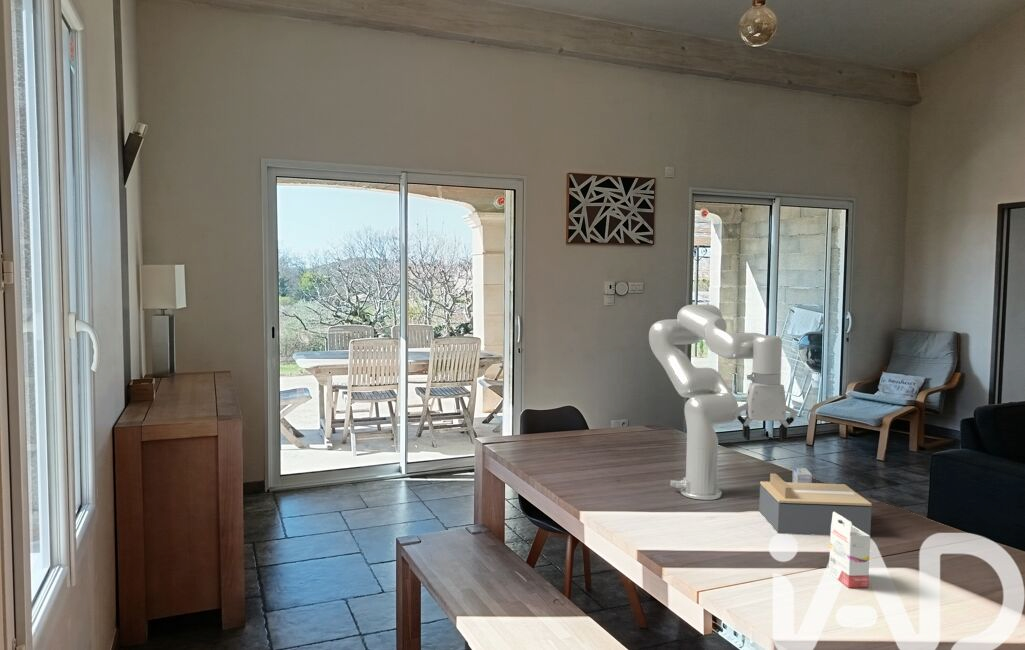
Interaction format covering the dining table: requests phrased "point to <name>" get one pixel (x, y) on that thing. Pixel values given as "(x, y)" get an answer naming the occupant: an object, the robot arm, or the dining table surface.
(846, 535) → the ink cartridge box
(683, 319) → the robot arm
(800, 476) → the medicine box
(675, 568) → the dining table surface
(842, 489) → the lid
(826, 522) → the box
